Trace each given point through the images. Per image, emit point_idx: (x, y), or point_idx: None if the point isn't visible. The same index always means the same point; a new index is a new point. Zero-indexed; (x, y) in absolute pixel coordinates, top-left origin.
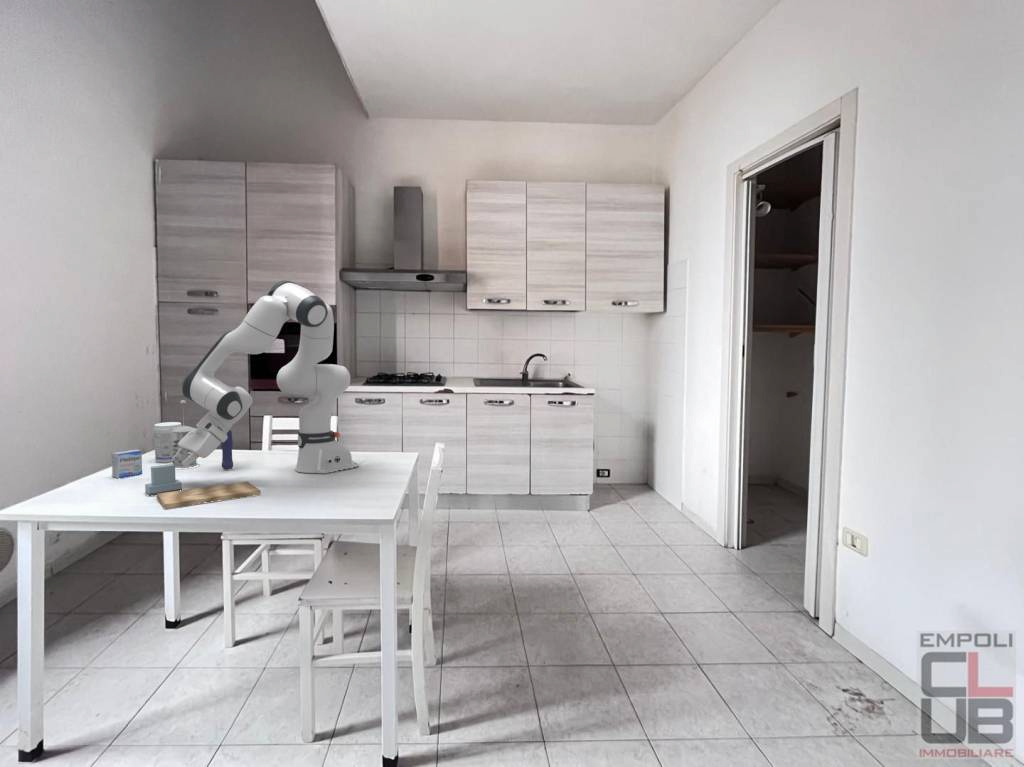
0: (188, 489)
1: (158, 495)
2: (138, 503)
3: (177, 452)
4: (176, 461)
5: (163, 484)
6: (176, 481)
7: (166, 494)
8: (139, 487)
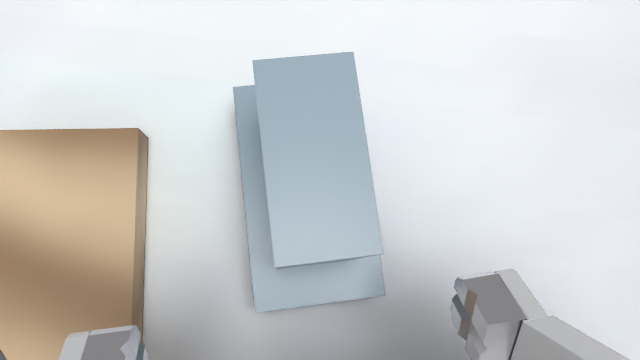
0: None
1: (78, 132)
2: (97, 36)
3: (571, 343)
4: (454, 307)
5: (264, 181)
6: (317, 281)
7: (72, 180)
8: (530, 91)
